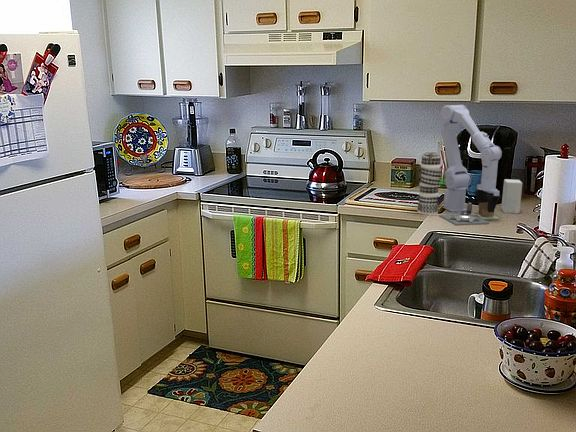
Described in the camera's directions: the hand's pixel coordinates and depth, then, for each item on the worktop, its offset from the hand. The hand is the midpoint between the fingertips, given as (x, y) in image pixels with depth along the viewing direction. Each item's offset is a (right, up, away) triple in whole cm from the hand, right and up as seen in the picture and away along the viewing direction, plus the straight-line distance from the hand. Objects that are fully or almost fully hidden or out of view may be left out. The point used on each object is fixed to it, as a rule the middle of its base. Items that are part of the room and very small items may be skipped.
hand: (486, 209), depth 248 cm
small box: (+14, -1, +12) cm, 18 cm away
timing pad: (0, -3, +1) cm, 3 cm away
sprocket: (-10, -4, -5) cm, 12 cm away
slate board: (-10, -4, -4) cm, 12 cm away
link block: (0, -2, +1) cm, 2 cm away
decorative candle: (-22, -1, +8) cm, 23 cm away
